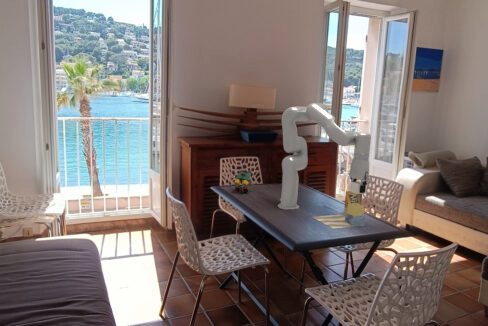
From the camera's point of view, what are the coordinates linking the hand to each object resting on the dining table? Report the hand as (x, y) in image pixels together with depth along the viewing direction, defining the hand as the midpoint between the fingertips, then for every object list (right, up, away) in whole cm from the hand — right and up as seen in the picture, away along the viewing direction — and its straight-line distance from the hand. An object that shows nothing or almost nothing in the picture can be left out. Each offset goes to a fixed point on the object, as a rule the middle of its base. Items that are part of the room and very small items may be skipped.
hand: (357, 190), depth 201 cm
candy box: (+1, -16, +17) cm, 24 cm away
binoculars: (-60, -6, +61) cm, 86 cm away
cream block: (0, -1, 0) cm, 1 cm away
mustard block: (-1, -12, +2) cm, 13 cm away
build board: (-9, -18, +6) cm, 21 cm away
